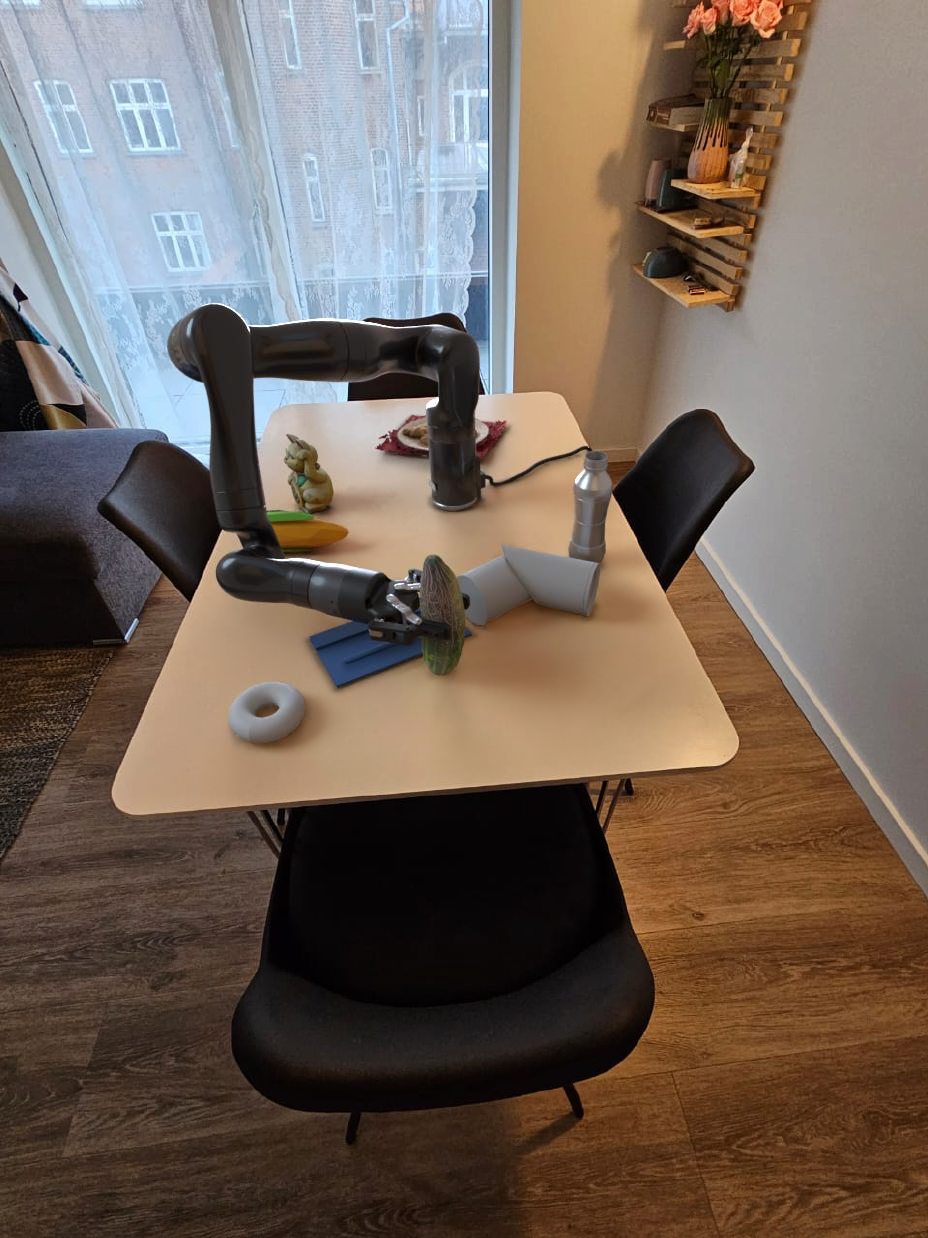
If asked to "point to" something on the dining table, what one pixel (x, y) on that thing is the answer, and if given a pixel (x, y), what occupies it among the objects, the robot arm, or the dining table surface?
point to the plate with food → (416, 437)
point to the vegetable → (441, 615)
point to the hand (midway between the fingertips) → (459, 617)
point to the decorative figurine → (307, 476)
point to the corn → (303, 530)
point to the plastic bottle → (591, 509)
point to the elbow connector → (529, 584)
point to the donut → (270, 726)
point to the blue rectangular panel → (361, 651)
